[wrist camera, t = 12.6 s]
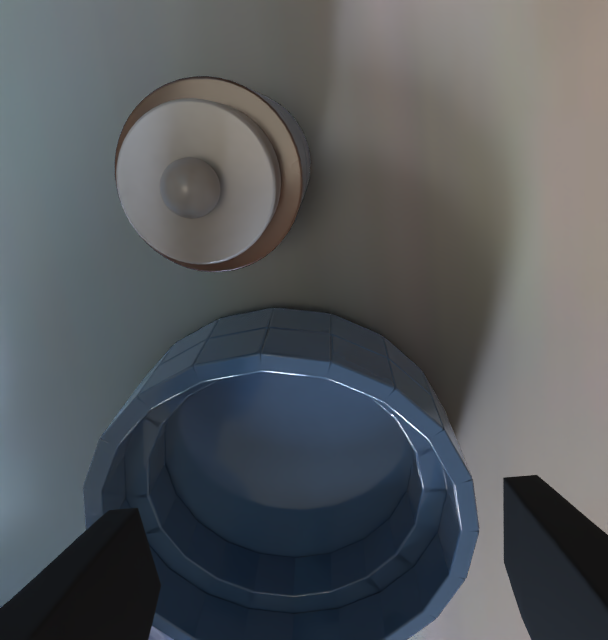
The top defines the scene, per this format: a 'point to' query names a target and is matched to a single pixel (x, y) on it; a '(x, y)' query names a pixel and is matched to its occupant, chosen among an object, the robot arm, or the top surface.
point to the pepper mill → (211, 173)
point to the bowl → (290, 483)
